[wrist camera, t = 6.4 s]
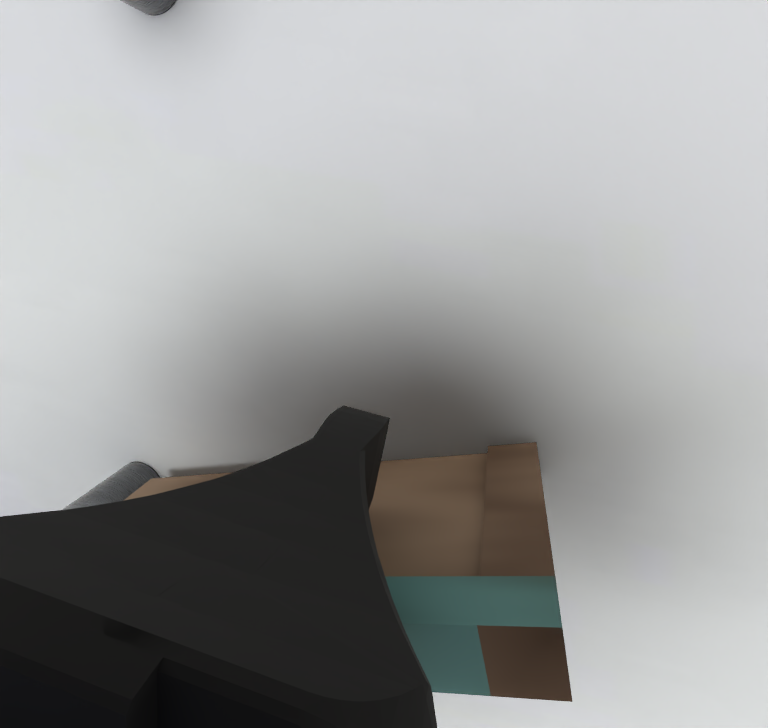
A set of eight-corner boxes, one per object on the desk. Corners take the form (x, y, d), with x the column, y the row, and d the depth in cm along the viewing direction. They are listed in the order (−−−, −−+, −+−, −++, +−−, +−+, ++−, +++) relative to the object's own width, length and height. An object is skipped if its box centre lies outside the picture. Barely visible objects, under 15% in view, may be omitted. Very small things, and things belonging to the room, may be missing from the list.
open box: (163, 510, 16) (-4, 662, 10) (149, 473, 15) (-32, 611, 10) (542, 490, 12) (572, 701, 7) (536, 442, 12) (562, 627, 7)
